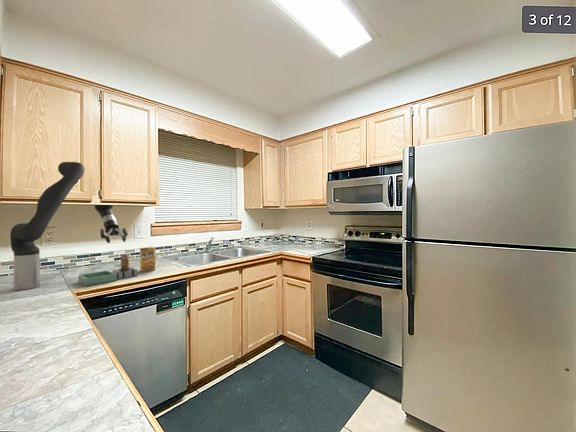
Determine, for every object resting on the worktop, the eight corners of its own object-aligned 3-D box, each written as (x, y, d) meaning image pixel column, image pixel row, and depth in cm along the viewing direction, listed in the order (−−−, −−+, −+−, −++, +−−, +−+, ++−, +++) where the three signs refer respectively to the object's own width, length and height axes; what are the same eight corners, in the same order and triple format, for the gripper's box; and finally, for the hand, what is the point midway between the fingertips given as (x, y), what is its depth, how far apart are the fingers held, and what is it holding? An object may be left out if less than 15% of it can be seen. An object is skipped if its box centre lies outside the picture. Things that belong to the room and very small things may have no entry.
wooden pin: (122, 277, 150) (122, 255, 150) (120, 276, 153) (119, 255, 152) (130, 276, 153) (129, 254, 153) (127, 275, 156) (127, 254, 156)
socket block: (118, 279, 146) (118, 272, 146) (112, 276, 152) (112, 269, 152) (137, 275, 154) (137, 269, 154) (130, 273, 160) (130, 267, 160)
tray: (86, 286, 131) (85, 279, 131) (78, 282, 140) (78, 274, 140) (116, 280, 143) (116, 273, 142) (108, 276, 151) (107, 270, 151)
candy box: (140, 271, 165) (140, 248, 165) (140, 270, 169) (140, 247, 169) (155, 270, 169) (155, 247, 169) (155, 268, 173) (155, 246, 173)
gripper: (98, 219, 160) (105, 238, 153) (123, 219, 171) (131, 236, 164) (96, 227, 163) (102, 246, 156) (120, 226, 174) (127, 244, 167)
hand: (117, 241), depth 160 cm, fingers open, 8 cm apart
